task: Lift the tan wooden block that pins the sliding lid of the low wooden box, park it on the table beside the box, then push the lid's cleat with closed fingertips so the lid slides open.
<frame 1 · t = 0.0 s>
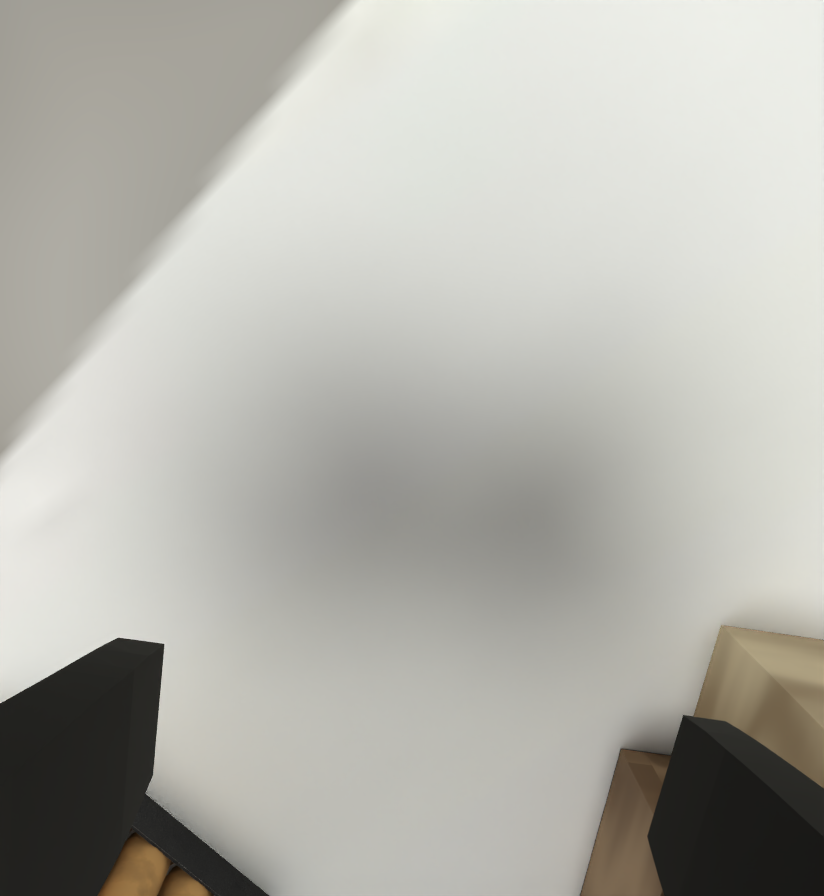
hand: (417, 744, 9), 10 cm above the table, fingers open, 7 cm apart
tan wooden block: (758, 682, 20), on the table
ammunition clip: (138, 813, 21), on the table
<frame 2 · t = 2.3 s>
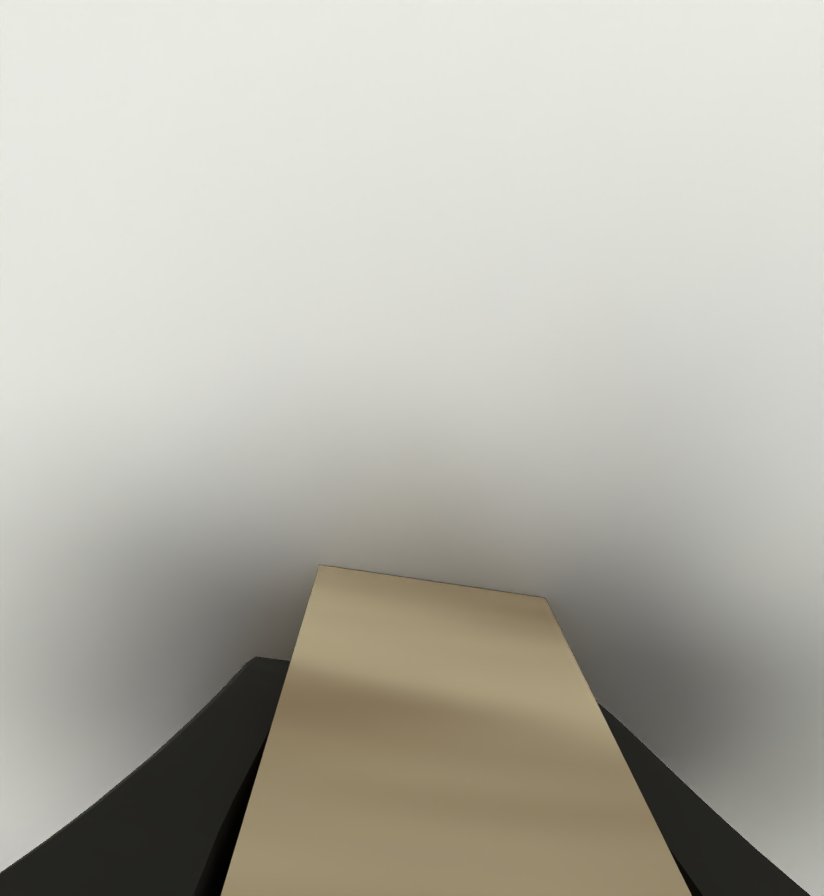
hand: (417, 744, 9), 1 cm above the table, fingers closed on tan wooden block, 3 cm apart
tan wooden block: (414, 682, 10), on the table, touching gripper
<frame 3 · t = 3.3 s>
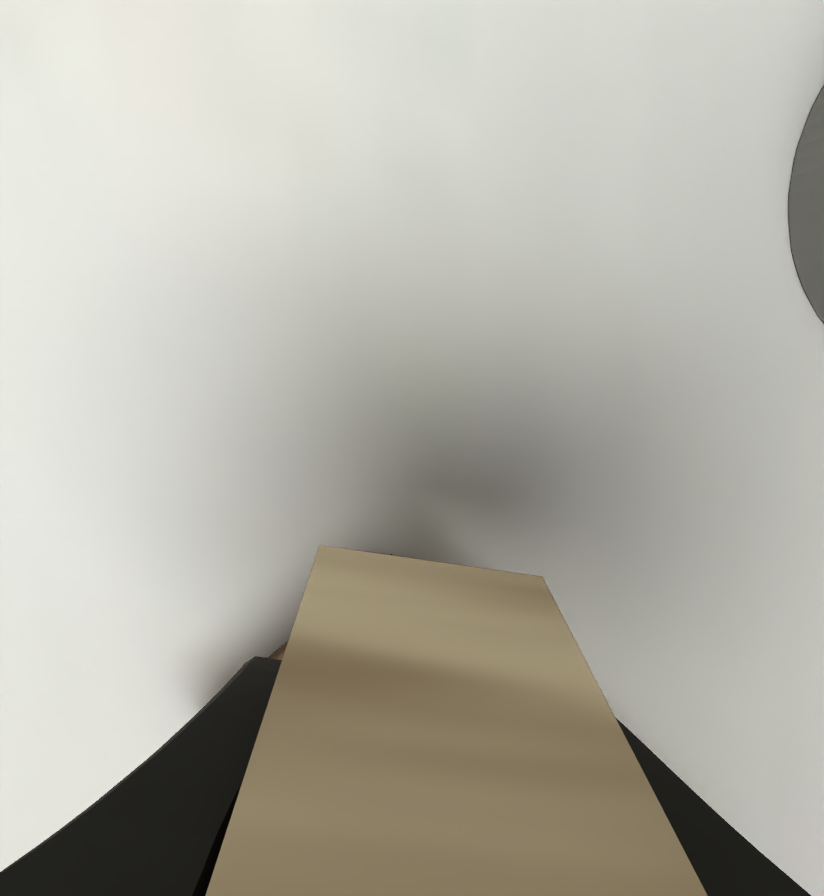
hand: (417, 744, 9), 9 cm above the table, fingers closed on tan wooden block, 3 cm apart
tan wooden block: (414, 661, 10), point 7 cm above the table, touching gripper
when the fingers open (2 cm above the table, at t = 4.7 s): tan wooden block stays where it is, on the table.
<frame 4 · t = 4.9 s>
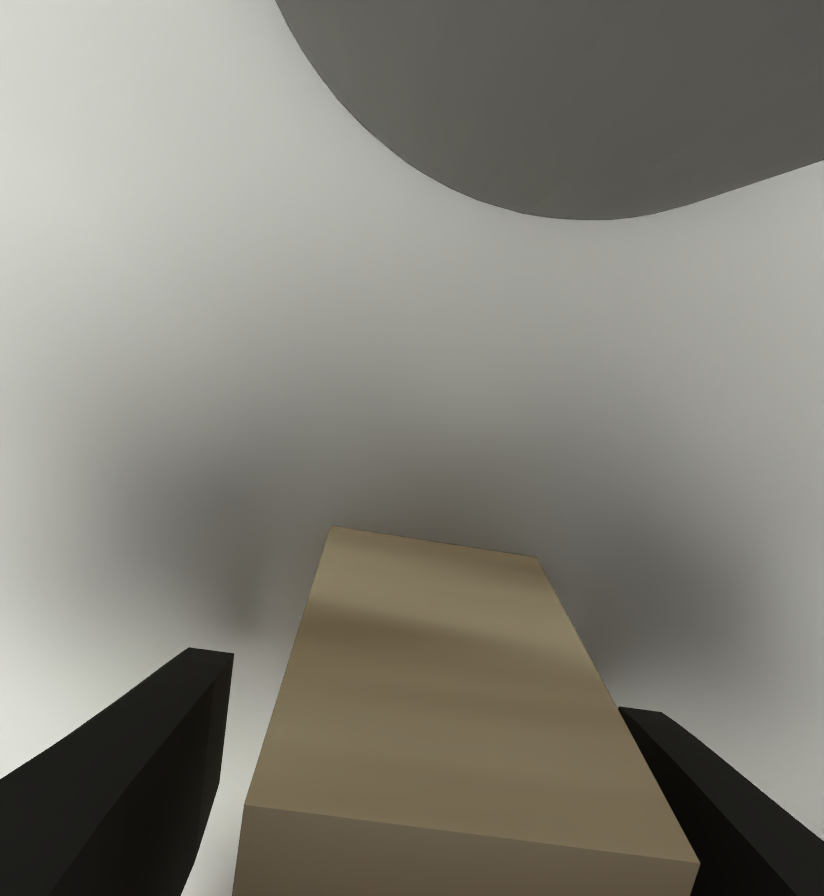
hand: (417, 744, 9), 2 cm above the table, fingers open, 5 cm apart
tan wooden block: (416, 635, 11), on the table
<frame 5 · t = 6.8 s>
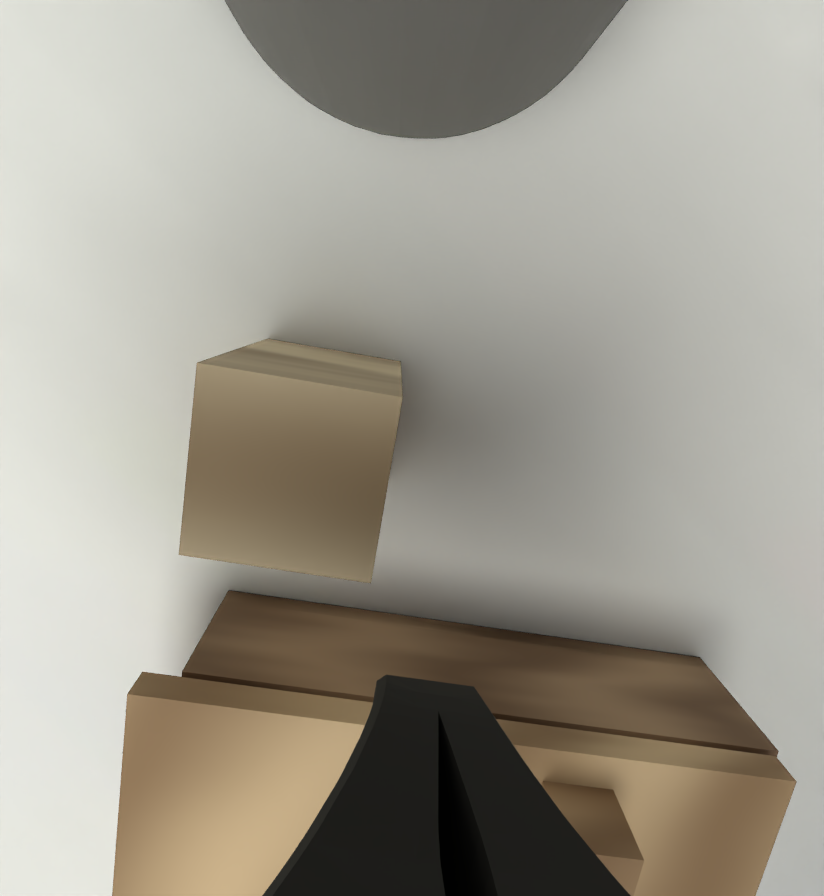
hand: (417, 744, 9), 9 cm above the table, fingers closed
tan wooden block: (325, 415, 17), on the table
wooden box: (446, 736, 19), on the table
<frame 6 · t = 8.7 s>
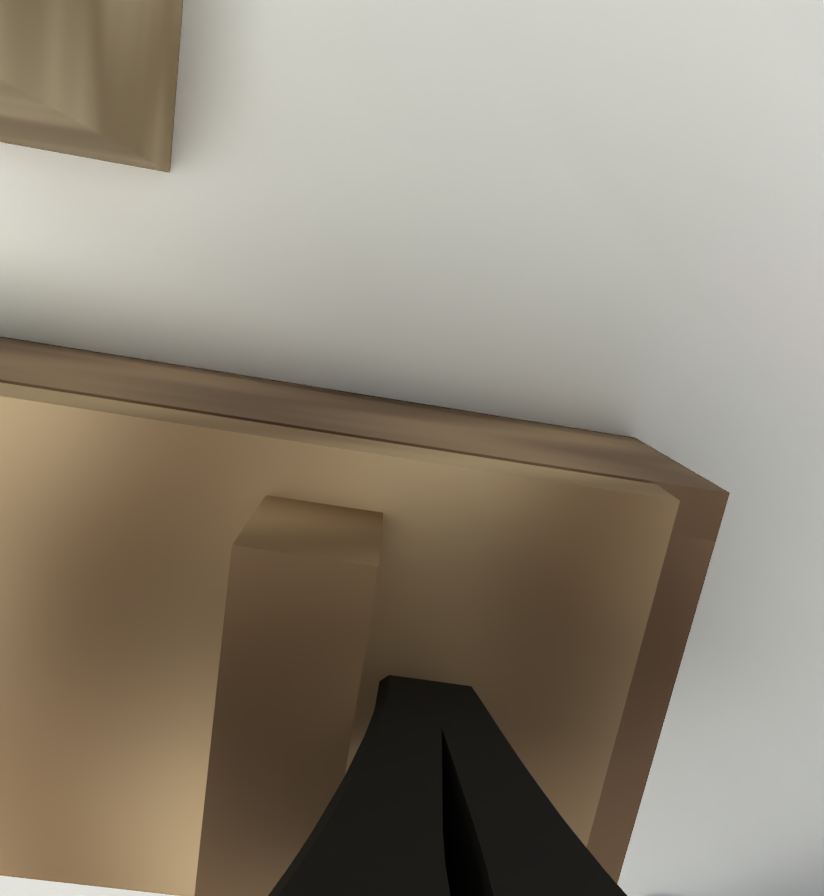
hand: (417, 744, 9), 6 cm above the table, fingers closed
tan wooden block: (83, 56, 12), on the table
wooden box: (289, 554, 14), on the table
lid: (109, 695, 9), point 6 cm above the table, slide at 1.0 cm, touching gripper
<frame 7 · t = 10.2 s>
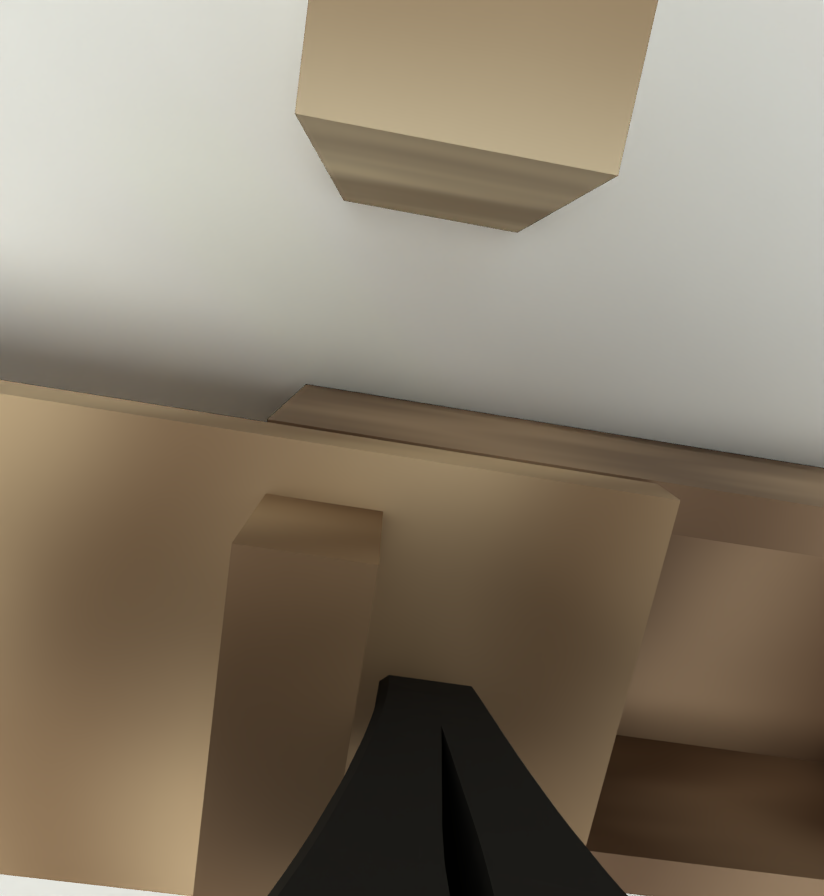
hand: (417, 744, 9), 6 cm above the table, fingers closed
tan wooden block: (447, 121, 12), on the table
wooden box: (590, 597, 14), on the table
lid: (108, 693, 9), point 5 cm above the table, slide at 7.9 cm, touching gripper
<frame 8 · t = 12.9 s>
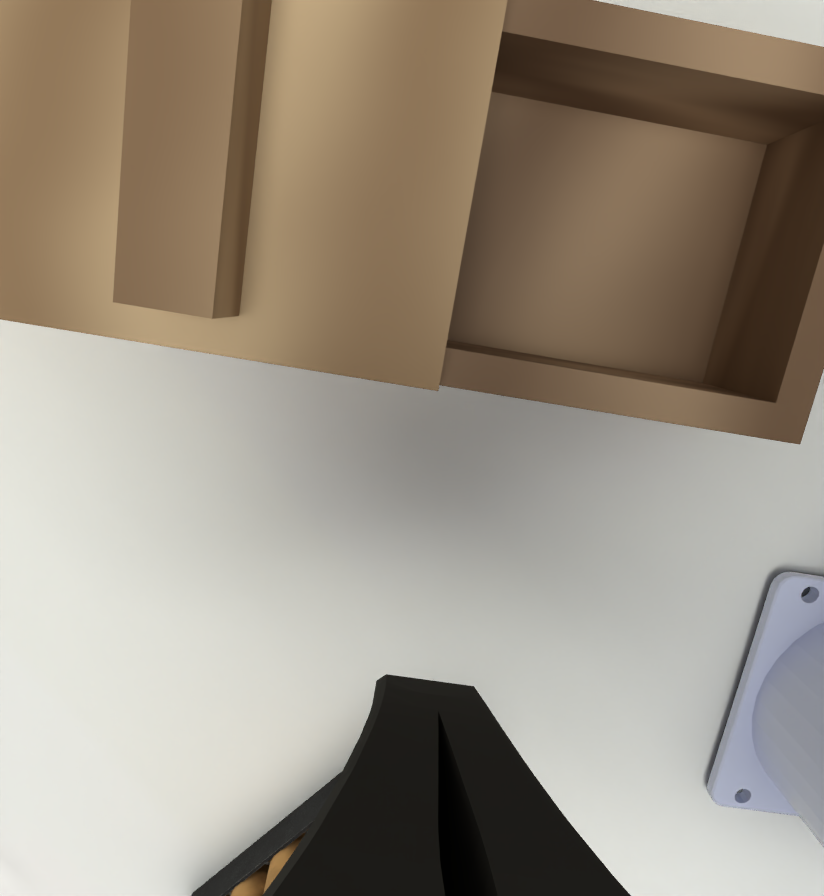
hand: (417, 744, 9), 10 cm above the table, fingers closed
wooden box: (495, 228, 17), on the table
lid: (55, 105, 11), point 6 cm above the table, slide at 8.0 cm
ammunition clip: (323, 816, 21), on the table
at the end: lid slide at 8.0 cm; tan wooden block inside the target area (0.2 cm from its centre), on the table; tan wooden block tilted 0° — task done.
